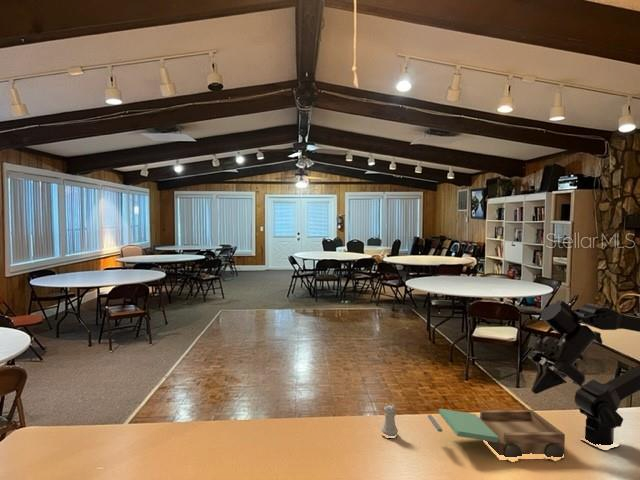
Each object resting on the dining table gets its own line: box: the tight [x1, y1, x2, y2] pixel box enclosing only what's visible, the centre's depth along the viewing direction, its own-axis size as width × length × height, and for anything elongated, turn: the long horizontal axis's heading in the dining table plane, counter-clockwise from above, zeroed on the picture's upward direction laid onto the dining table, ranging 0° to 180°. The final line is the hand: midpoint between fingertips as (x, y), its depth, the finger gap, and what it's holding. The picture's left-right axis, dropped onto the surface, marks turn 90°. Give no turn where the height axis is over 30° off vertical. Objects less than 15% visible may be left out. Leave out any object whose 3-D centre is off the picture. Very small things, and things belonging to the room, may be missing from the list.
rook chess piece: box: [381, 403, 399, 436], centre depth 111 cm, size 4×4×8 cm
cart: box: [479, 409, 566, 457], centre depth 107 cm, size 16×16×6 cm
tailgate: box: [427, 408, 499, 442], centre depth 106 cm, size 2×13×14 cm
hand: (533, 392), depth 107 cm, fingers closed
